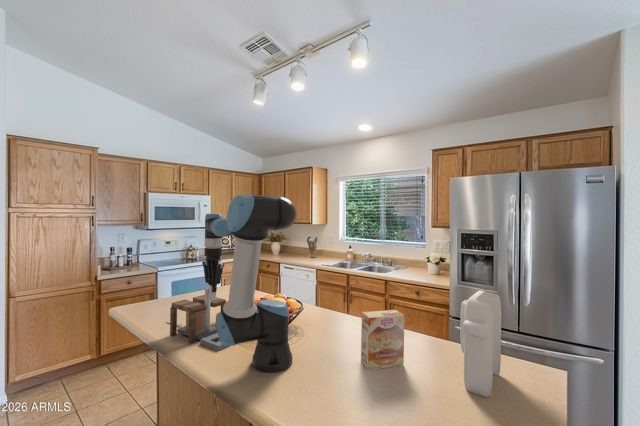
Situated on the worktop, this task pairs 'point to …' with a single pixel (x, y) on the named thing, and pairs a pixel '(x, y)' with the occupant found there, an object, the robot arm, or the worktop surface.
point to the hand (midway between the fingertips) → (212, 298)
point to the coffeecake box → (382, 339)
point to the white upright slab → (481, 341)
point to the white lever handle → (200, 322)
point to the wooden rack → (191, 313)
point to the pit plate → (213, 342)
